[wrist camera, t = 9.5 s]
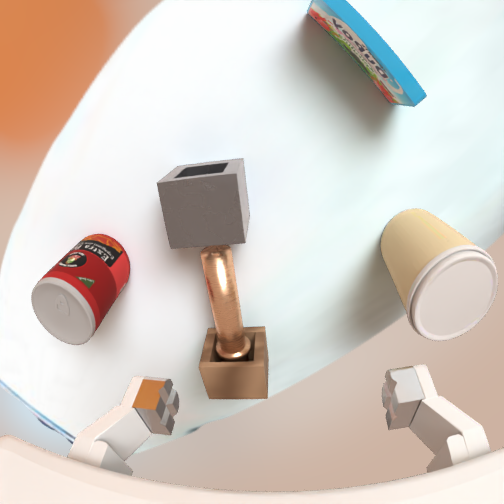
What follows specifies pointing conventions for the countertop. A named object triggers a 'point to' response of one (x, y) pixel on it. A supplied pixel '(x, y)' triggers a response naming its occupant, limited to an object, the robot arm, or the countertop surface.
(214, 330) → the socket
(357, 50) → the blue thin box
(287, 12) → the countertop surface
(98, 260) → the canned food
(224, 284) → the tube
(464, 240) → the coffee cup
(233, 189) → the sleeve
